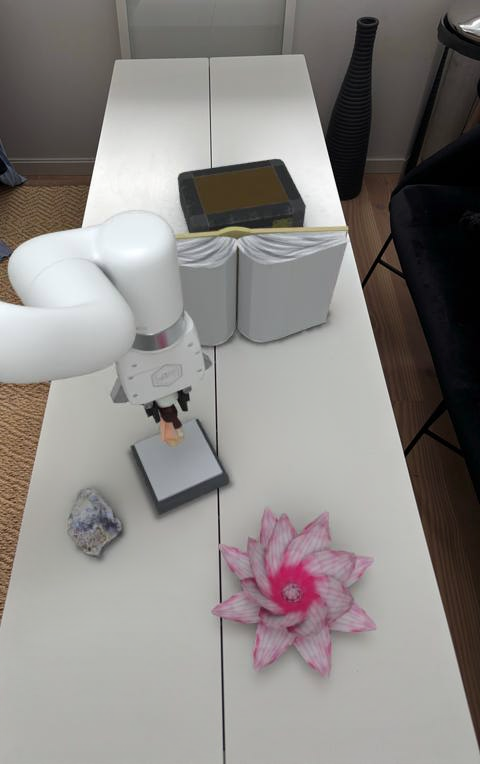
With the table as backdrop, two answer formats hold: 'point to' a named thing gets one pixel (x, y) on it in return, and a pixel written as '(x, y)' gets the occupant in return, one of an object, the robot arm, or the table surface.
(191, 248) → the book
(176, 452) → the scale
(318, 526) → the decorative flower
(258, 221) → the cash box
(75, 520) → the mineral specimen
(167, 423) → the grandmother figurine
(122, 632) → the table surface
